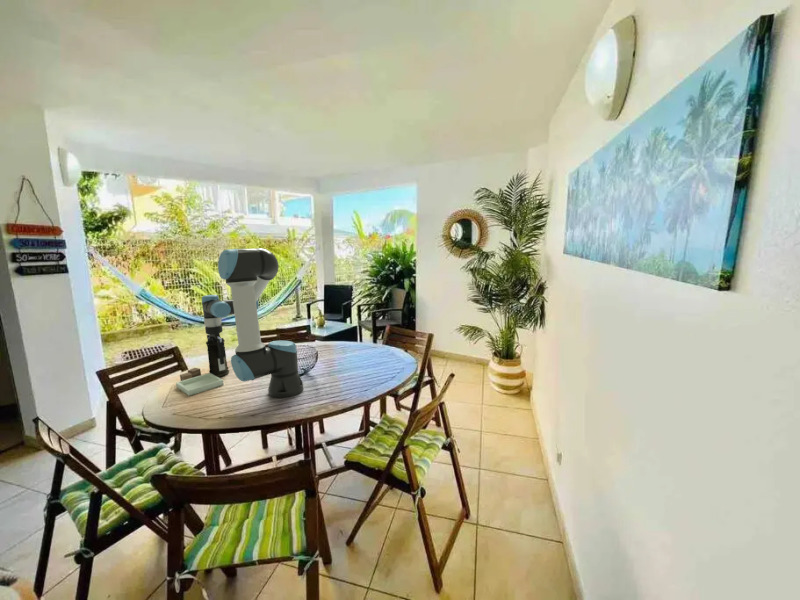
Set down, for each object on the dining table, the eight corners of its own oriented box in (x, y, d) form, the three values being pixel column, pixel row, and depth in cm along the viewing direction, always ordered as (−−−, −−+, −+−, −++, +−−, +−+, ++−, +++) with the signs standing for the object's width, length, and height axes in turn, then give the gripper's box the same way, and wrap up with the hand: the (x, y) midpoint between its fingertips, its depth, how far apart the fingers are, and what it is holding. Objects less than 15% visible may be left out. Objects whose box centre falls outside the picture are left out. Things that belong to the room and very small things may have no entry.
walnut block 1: (193, 381, 165) (191, 374, 165) (183, 384, 162) (182, 376, 162) (189, 379, 168) (188, 372, 167) (180, 382, 165) (179, 374, 164)
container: (232, 371, 178) (228, 338, 175) (222, 377, 169) (218, 343, 166) (216, 370, 178) (212, 338, 176) (205, 377, 170) (201, 343, 167)
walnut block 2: (201, 376, 172) (200, 368, 172) (193, 379, 169) (192, 371, 168) (195, 374, 174) (195, 367, 173) (188, 377, 170) (187, 370, 170)
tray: (223, 384, 161) (223, 379, 160) (188, 396, 149) (188, 390, 149) (210, 377, 170) (209, 372, 170) (176, 387, 159) (176, 382, 158)
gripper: (230, 326, 166) (235, 370, 169) (212, 321, 179) (217, 362, 182) (214, 329, 160) (219, 375, 164) (197, 324, 173) (202, 366, 177)
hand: (218, 368), depth 173 cm, fingers closed on container, 8 cm apart
